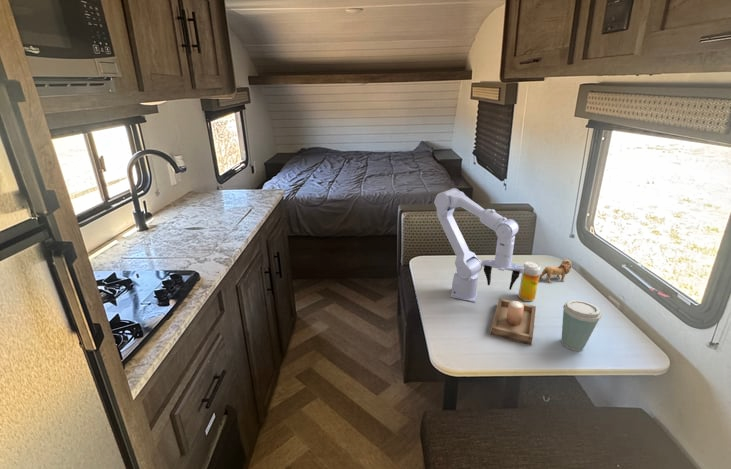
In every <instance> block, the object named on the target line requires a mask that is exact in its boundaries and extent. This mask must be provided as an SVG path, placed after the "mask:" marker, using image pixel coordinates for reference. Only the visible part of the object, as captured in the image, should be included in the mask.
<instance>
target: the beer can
mask: <svg viewBox="0 0 731 469" xmlns="http://www.w3.org/2000/svg"><path fill="white" fill-rule="evenodd" d="M523 267H524V271H523V274H522V273H521V277H520V285H519V289H518V297H519V299H520V300H522V301H524V302H532V301H534V300H535V299H536V295H537V289H538V284H539V277H540V275H541V274H540V273H541V265H540V264H539V263H538V262H535V261H529V260H527V261H526V262H524V264H523Z"/></svg>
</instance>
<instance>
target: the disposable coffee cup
mask: <svg viewBox="0 0 731 469" xmlns="http://www.w3.org/2000/svg"><path fill="white" fill-rule="evenodd" d="M562 307H563V310H562V312H563V314H562V326H561V343H562V345H563V346H564V347H565V348H567V349H569V350H571V351H577V352H578V351H582V350H583V349H584V348H585V347H586V345H587V344H588V341H589V339H590V337H591V336H592V333H593V332H594V330H595V328H596V326H597V324H598V322H599V321H600V320H601V319H602V311H601V310H600V308H599V306H596V305H595V304H593V303H591V302H587V301H584V300H577V299H573V300H572V299H571V300H568V301H566V302H565V303H564V304H563V306H562Z"/></svg>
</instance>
